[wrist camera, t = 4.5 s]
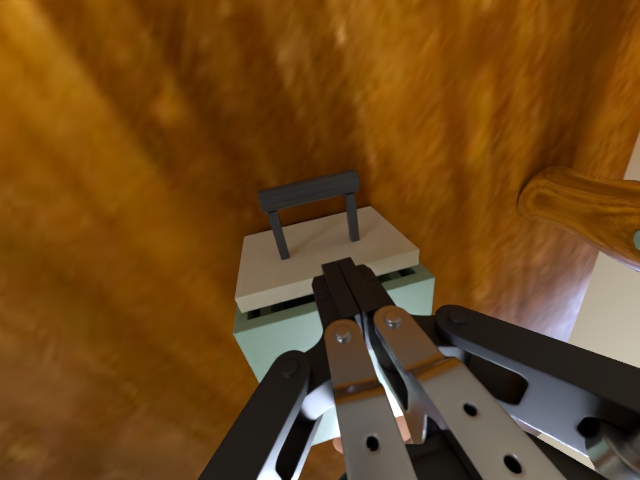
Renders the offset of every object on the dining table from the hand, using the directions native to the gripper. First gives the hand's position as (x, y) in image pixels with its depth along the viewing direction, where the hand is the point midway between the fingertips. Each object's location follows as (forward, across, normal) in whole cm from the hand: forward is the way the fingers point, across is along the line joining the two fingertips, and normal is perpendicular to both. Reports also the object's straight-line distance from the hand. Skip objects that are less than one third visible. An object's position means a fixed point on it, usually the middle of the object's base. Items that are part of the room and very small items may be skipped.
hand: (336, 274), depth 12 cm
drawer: (+10, 0, +6) cm, 12 cm away
